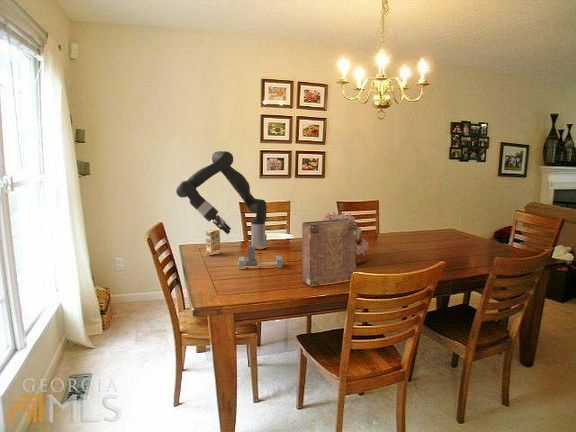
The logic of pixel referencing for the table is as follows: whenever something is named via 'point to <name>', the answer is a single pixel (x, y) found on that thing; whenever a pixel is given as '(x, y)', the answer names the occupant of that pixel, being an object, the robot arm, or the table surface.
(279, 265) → the rail
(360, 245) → the cake
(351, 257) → the book
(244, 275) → the table surface
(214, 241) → the candy box
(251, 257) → the block
